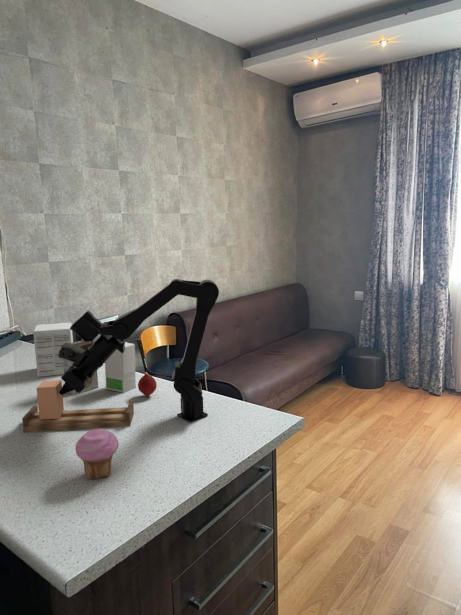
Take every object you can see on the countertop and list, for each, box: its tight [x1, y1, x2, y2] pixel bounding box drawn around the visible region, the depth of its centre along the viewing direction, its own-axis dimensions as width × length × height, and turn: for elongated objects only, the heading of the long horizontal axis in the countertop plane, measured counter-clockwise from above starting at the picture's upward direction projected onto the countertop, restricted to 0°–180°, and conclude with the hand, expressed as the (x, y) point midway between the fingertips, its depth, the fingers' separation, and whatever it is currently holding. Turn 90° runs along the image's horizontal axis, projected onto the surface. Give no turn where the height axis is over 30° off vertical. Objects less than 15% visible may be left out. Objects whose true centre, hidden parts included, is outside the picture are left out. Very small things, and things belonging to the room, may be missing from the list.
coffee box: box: [61, 339, 99, 396], centre depth 152 cm, size 9×6×16 cm
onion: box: [137, 372, 158, 397], centre depth 145 cm, size 6×6×8 cm
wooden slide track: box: [21, 400, 135, 433], centre depth 126 cm, size 28×9×4 cm, turn 95°
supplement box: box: [32, 322, 74, 378], centre depth 174 cm, size 13×13×18 cm
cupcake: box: [75, 428, 119, 480], centre depth 98 cm, size 9×9×10 cm
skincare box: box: [104, 341, 137, 394], centre depth 152 cm, size 8×7×16 cm
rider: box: [36, 379, 65, 420], centre depth 124 cm, size 5×6×10 cm
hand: (60, 393), depth 124 cm, fingers closed, pressing on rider
